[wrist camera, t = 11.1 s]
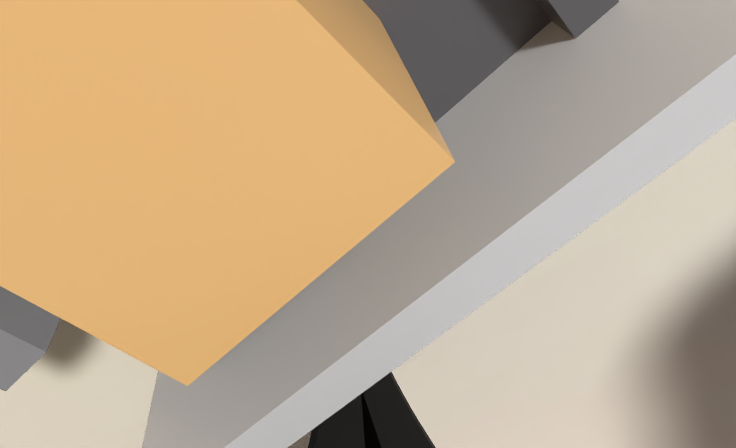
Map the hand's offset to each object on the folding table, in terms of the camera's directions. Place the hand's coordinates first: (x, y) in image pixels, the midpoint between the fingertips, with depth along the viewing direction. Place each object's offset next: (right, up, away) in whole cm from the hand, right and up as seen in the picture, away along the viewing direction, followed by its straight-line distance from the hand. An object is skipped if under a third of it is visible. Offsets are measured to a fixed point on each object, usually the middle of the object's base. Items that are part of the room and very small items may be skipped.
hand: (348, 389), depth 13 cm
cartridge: (-2, +7, -4) cm, 8 cm away
